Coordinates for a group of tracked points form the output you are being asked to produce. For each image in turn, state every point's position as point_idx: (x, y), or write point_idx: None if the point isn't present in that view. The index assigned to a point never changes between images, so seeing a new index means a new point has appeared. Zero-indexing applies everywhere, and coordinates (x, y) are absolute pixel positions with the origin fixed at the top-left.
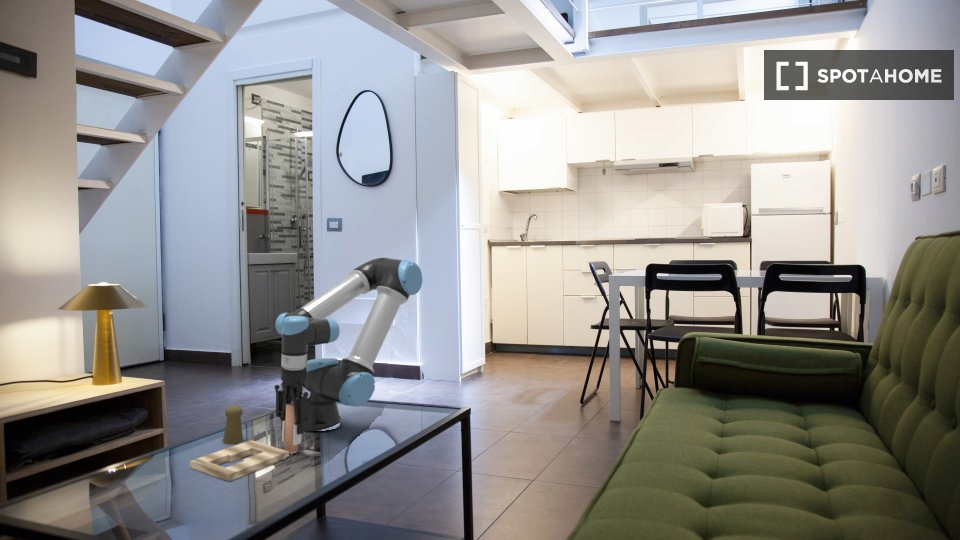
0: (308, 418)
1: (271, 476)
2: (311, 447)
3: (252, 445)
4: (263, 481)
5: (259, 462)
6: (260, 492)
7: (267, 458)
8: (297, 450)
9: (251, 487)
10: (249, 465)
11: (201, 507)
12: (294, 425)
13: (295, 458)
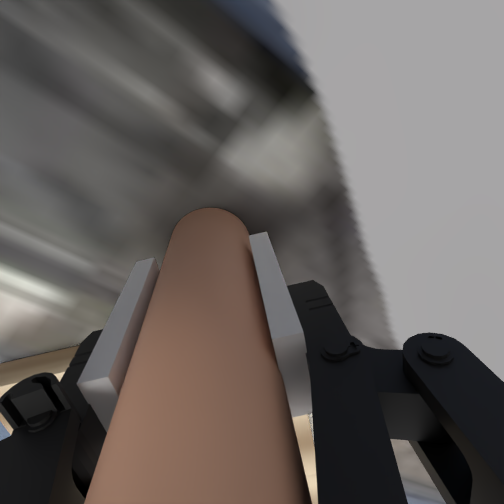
0: (485, 376)
1: None
2: (215, 91)
3: None
4: (409, 456)
5: (313, 460)
6: None
7: (297, 426)
8: (244, 228)
9: (415, 490)
10: (313, 492)
11: None
12: (300, 403)
13: (309, 274)
